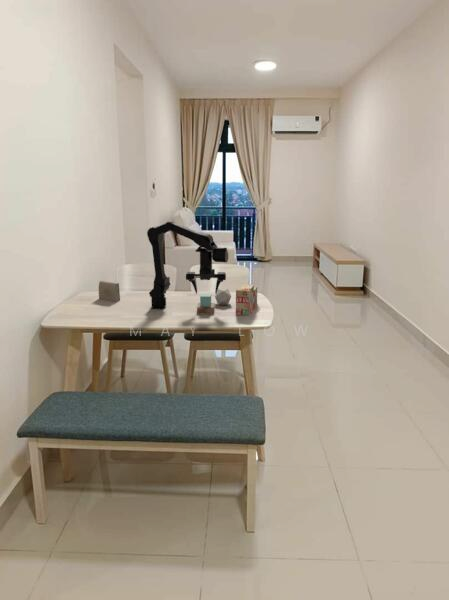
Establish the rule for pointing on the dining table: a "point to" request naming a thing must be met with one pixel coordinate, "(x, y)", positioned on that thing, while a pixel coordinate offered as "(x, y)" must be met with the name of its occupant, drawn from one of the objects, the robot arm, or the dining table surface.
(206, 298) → the teal cube
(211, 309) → the walnut base
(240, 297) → the printed cardboard box
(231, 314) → the dining table surface
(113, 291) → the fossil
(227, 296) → the die
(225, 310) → the dining table surface
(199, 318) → the dining table surface
